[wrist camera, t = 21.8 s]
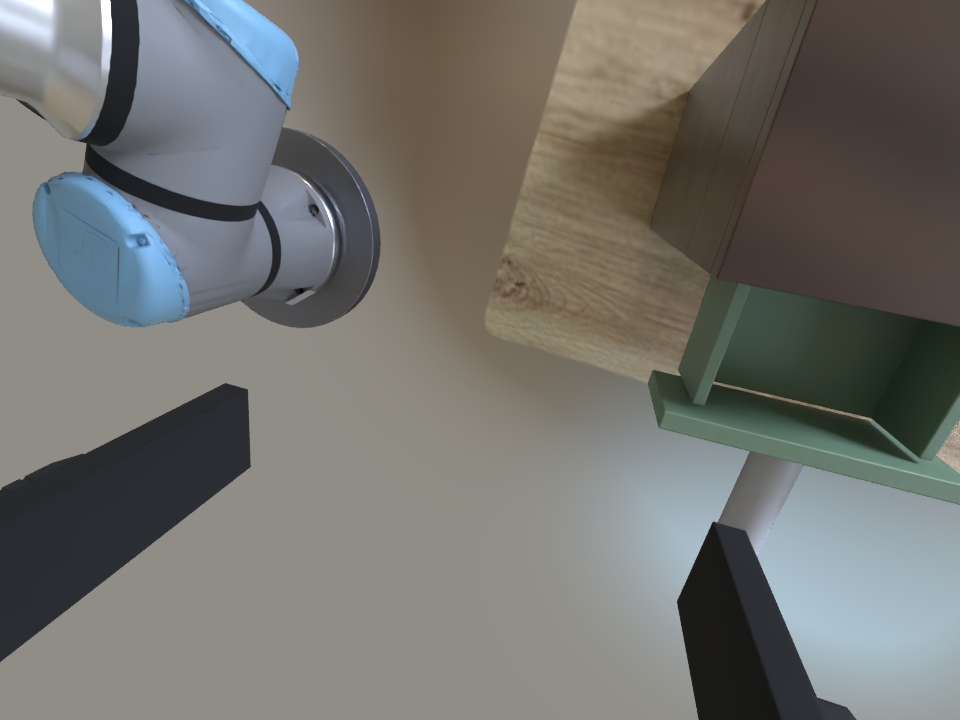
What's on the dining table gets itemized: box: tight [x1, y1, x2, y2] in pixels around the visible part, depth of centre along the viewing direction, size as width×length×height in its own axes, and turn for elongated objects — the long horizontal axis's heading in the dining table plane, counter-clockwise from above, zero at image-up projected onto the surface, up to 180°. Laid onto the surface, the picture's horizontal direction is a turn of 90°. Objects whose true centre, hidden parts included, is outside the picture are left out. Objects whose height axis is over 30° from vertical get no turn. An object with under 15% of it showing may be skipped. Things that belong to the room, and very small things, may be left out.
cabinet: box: [650, 0, 960, 327], centre depth 28 cm, size 12×14×29 cm
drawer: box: [648, 275, 960, 556], centre depth 24 cm, size 22×14×6 cm, turn 171°
